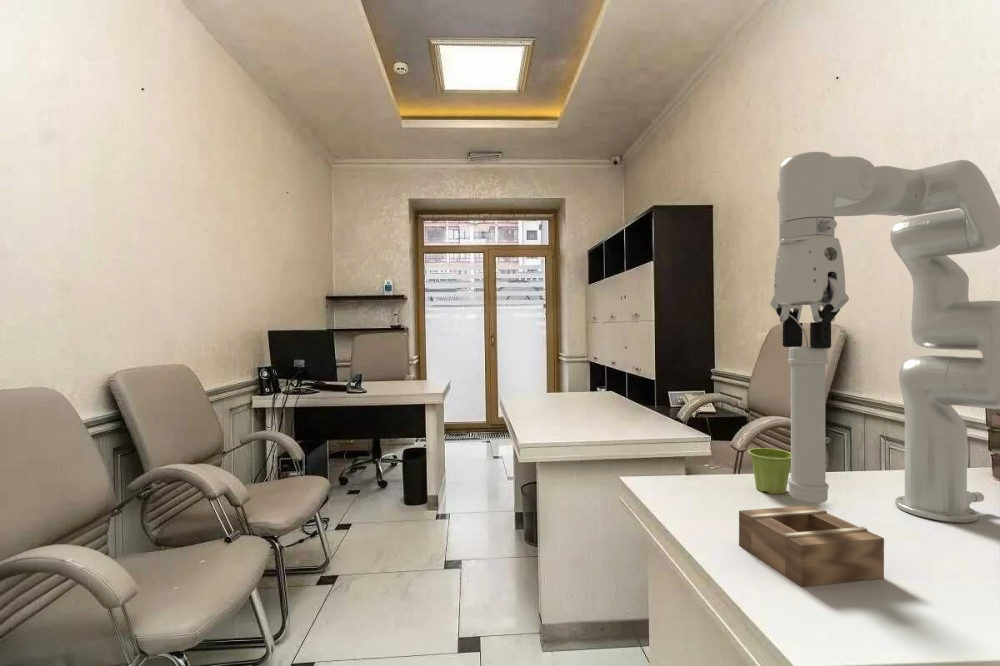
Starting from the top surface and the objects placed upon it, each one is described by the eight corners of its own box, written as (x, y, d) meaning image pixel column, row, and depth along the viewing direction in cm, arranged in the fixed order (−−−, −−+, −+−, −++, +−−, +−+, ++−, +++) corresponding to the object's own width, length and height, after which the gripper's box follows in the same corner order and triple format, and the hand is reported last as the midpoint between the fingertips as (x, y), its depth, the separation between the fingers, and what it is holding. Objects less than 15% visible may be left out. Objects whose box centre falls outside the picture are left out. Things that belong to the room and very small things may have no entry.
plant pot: (803, 497, 110) (803, 458, 110) (760, 497, 110) (760, 458, 110) (780, 484, 119) (780, 447, 119) (740, 484, 120) (740, 448, 120)
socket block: (810, 539, 88) (810, 503, 88) (883, 578, 74) (883, 536, 74) (739, 545, 86) (738, 508, 86) (801, 586, 72) (801, 543, 72)
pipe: (835, 505, 77) (834, 310, 76) (790, 502, 78) (790, 310, 78) (819, 493, 82) (819, 311, 82) (778, 491, 83) (777, 312, 83)
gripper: (874, 223, 72) (874, 349, 72) (787, 243, 89) (787, 345, 89) (829, 221, 71) (829, 350, 71) (749, 242, 87) (749, 346, 87)
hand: (806, 346), depth 80 cm, fingers closed on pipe, 5 cm apart
